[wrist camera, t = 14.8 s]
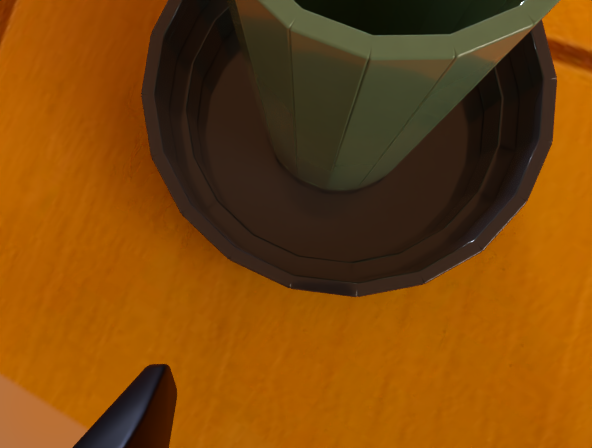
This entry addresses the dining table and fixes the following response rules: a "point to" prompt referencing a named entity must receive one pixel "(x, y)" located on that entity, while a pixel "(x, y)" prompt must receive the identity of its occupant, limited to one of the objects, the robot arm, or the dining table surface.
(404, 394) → the dining table surface
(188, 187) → the pan
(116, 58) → the dining table surface
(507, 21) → the cup
